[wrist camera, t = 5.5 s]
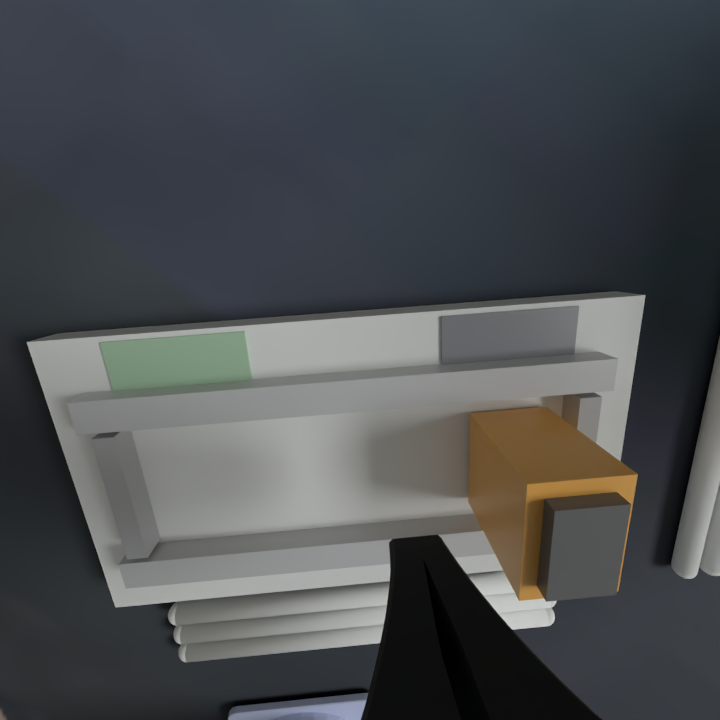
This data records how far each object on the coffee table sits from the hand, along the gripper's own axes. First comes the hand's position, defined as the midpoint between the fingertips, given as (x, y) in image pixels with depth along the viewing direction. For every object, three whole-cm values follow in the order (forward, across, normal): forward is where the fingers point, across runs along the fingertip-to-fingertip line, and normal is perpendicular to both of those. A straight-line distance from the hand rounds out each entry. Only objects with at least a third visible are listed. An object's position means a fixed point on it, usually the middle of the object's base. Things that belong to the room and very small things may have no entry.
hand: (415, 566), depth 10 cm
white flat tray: (+6, +2, 0) cm, 7 cm away
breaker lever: (+5, -5, 0) cm, 7 cm away
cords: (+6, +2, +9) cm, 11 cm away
